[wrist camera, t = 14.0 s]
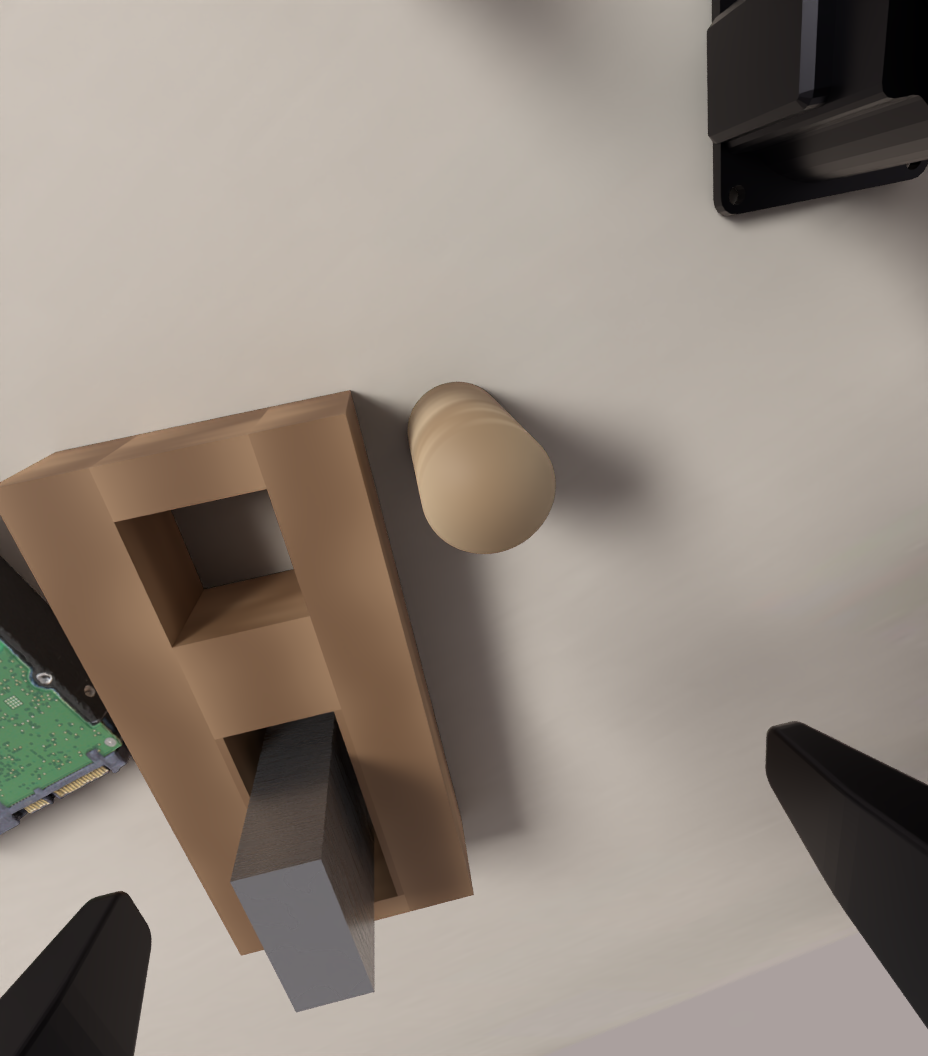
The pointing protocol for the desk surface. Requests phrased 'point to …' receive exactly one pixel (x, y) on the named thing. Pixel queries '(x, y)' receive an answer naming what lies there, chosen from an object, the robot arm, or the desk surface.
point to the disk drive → (45, 709)
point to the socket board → (247, 634)
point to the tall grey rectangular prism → (309, 864)
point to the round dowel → (477, 470)
